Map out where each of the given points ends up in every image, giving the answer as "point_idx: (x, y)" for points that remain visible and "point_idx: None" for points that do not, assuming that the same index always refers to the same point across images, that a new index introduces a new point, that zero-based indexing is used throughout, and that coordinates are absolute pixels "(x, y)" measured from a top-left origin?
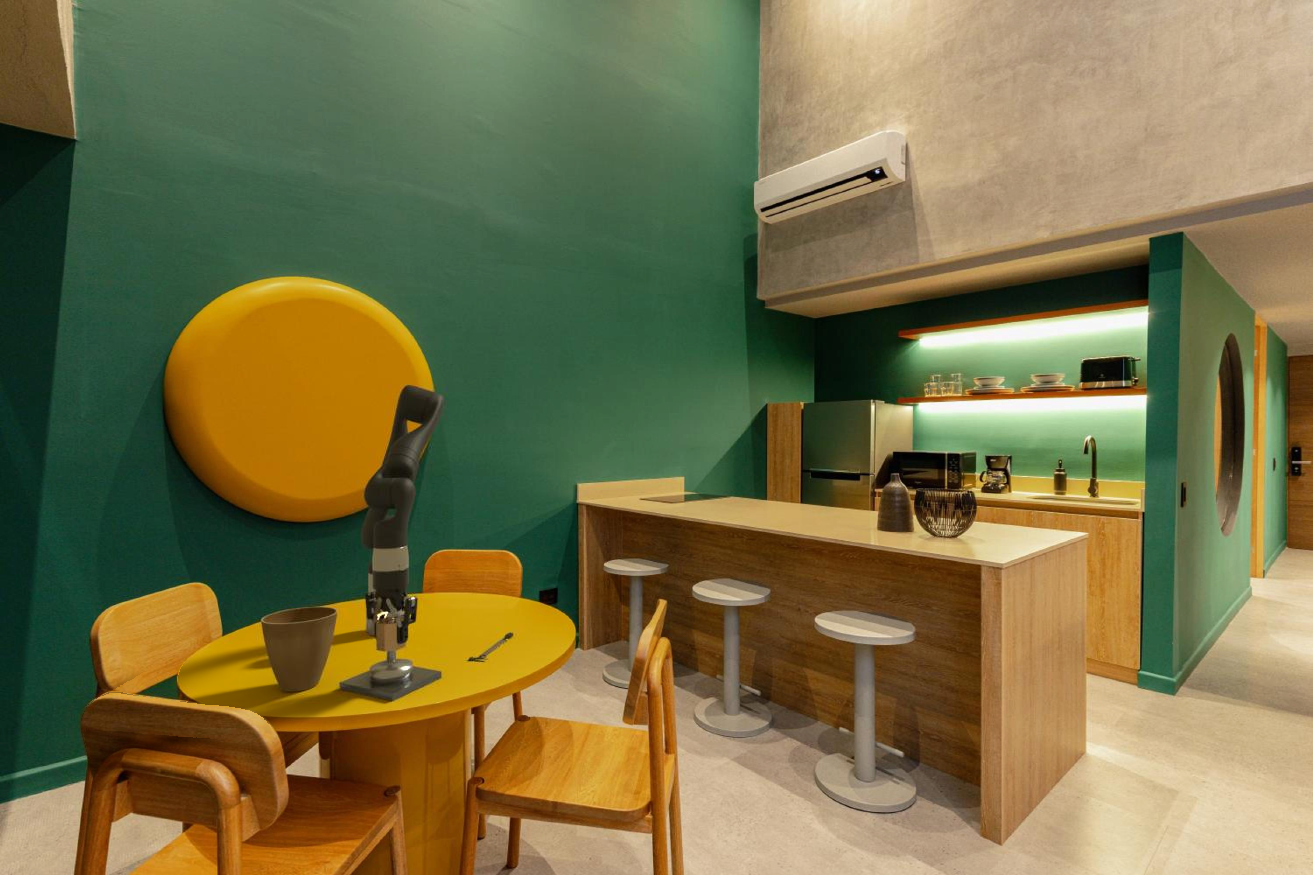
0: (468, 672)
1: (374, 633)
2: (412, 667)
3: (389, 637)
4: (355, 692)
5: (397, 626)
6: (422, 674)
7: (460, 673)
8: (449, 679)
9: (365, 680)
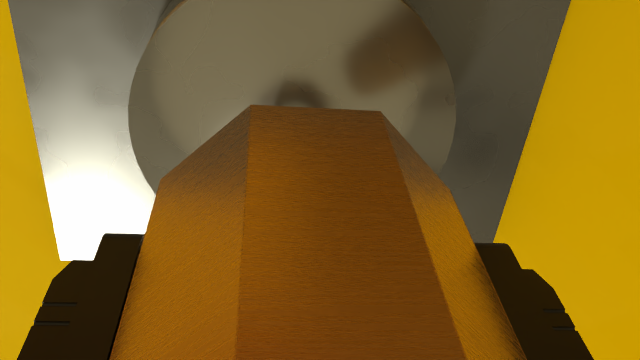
0: (7, 325)
1: (556, 295)
2: None
3: (198, 232)
4: None
5: None
6: (125, 189)
7: (34, 305)
8: (8, 232)
9: None
